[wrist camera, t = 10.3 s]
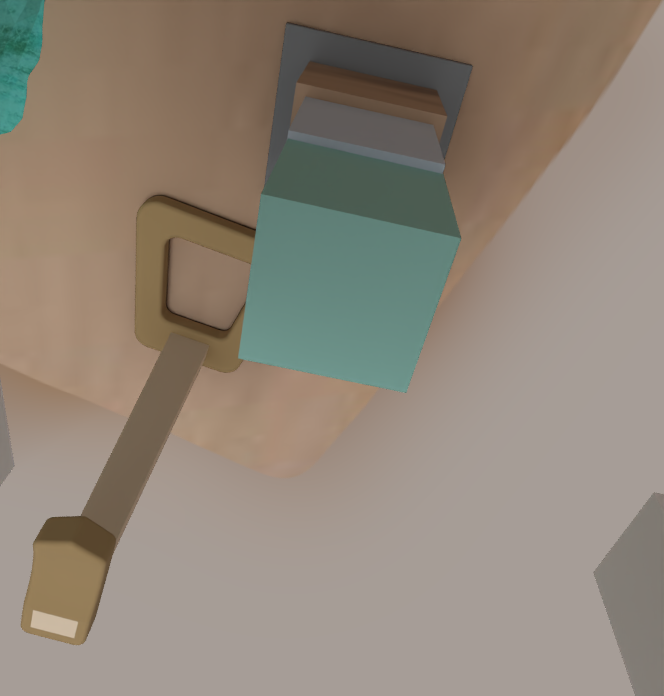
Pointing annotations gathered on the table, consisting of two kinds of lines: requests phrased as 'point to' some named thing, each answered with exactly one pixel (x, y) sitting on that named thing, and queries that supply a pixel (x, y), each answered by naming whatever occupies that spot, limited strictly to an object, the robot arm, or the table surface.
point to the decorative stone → (17, 55)
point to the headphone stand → (134, 423)
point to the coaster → (363, 59)
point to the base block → (370, 94)
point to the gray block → (367, 134)
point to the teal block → (347, 265)
